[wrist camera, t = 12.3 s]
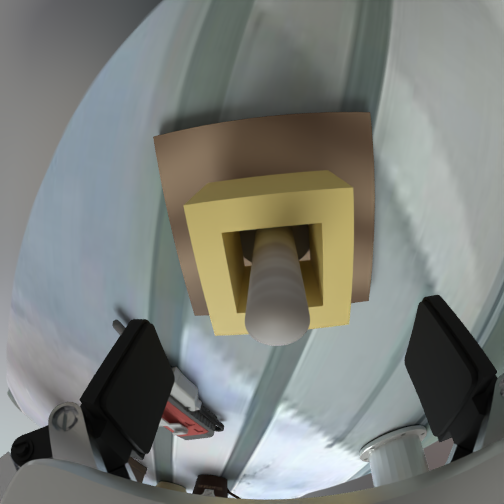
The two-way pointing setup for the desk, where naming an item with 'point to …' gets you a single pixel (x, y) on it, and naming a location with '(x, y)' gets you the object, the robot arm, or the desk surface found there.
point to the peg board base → (276, 238)
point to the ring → (267, 216)
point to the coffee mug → (212, 486)
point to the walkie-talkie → (185, 408)
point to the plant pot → (171, 486)
